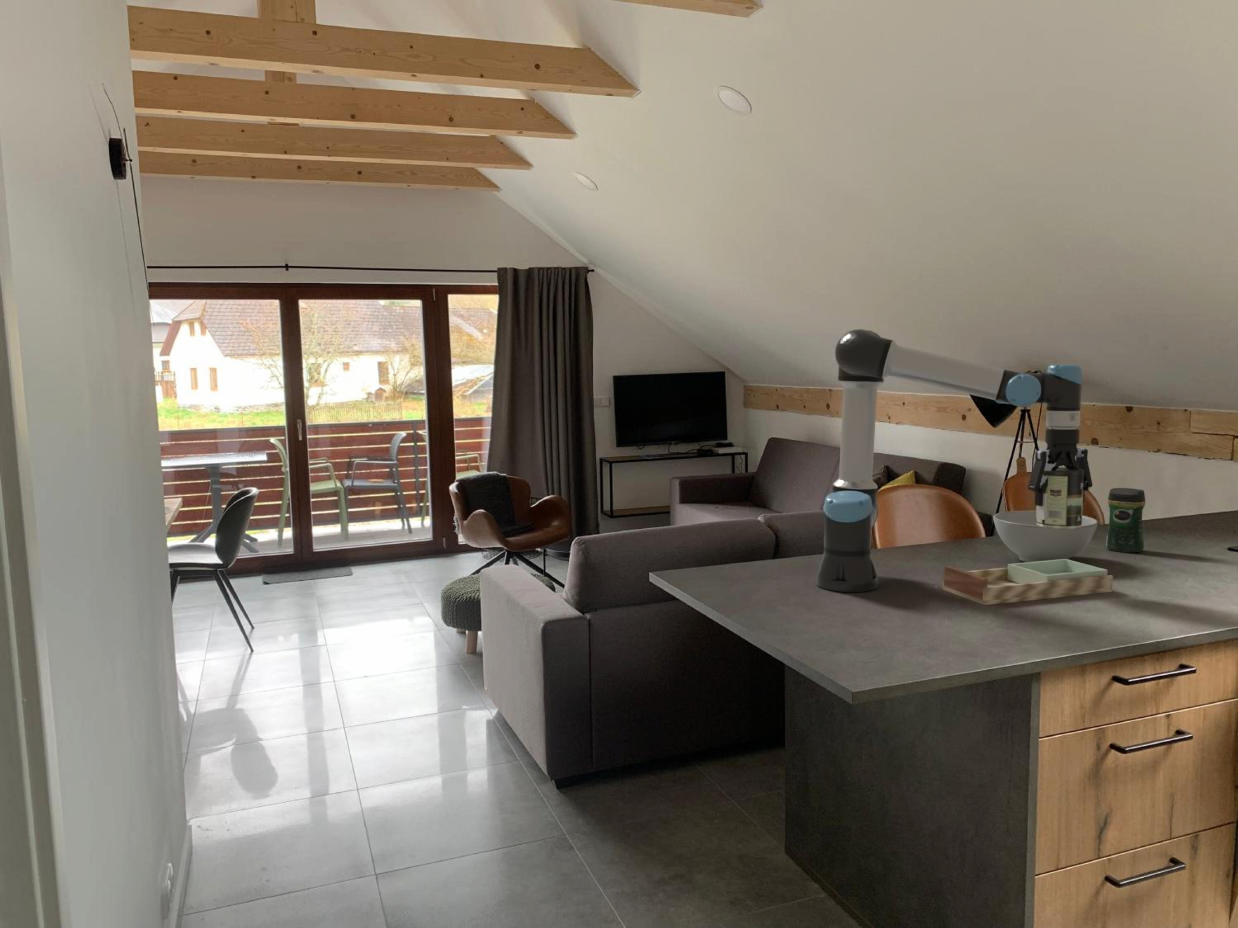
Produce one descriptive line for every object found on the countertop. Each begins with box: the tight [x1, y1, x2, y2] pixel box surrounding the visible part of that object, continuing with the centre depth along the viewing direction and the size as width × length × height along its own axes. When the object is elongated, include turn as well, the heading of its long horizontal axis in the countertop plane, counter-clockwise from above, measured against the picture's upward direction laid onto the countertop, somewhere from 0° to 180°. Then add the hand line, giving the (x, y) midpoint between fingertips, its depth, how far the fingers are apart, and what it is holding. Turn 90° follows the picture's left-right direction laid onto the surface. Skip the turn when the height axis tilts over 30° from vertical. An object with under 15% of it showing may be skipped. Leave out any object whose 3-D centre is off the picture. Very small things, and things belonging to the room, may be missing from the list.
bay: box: [941, 565, 1114, 606], centre depth 228 cm, size 37×16×6 cm, turn 107°
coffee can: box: [1037, 466, 1084, 529], centre depth 229 cm, size 10×10×14 cm
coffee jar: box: [1105, 487, 1147, 553], centre depth 273 cm, size 10×8×19 cm
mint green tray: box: [1007, 558, 1108, 584], centre depth 231 cm, size 18×14×4 cm
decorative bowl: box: [992, 510, 1099, 563], centre depth 261 cm, size 27×27×12 cm
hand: (1059, 517), depth 229 cm, fingers closed on coffee can, 10 cm apart
